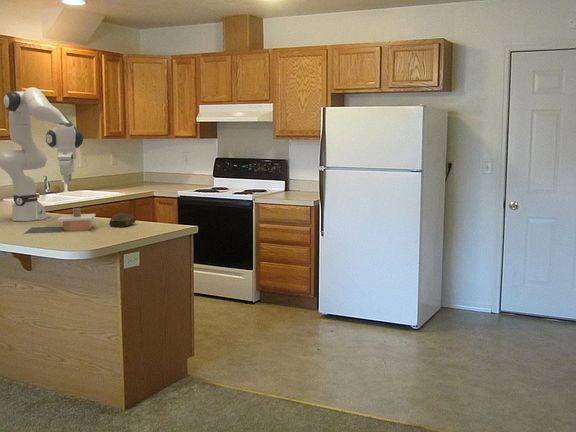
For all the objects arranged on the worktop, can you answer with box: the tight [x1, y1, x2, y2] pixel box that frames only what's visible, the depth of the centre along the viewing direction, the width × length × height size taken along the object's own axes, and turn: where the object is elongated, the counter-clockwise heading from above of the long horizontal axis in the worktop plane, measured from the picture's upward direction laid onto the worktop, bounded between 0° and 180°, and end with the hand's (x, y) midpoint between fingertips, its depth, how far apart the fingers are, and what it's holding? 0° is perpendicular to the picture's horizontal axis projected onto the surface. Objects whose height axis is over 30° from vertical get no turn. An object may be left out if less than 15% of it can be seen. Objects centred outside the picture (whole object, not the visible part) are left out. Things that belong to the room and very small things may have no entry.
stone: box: [108, 212, 137, 228], centre depth 340 cm, size 10×14×6 cm
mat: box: [22, 225, 64, 235], centre depth 324 cm, size 19×17×1 cm
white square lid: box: [57, 207, 97, 222], centre depth 325 cm, size 16×16×5 cm
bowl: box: [62, 219, 93, 232], centre depth 326 cm, size 13×13×6 cm
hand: (68, 182), depth 326 cm, fingers open, 8 cm apart
